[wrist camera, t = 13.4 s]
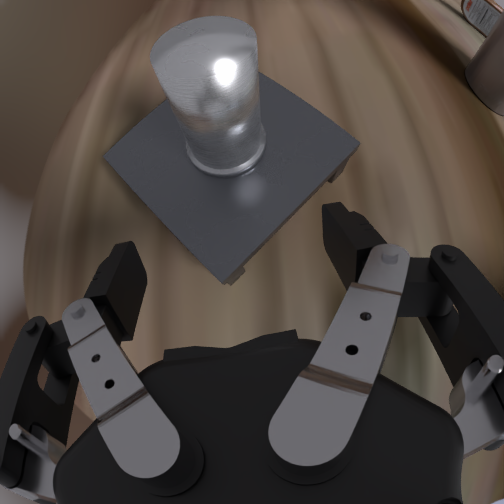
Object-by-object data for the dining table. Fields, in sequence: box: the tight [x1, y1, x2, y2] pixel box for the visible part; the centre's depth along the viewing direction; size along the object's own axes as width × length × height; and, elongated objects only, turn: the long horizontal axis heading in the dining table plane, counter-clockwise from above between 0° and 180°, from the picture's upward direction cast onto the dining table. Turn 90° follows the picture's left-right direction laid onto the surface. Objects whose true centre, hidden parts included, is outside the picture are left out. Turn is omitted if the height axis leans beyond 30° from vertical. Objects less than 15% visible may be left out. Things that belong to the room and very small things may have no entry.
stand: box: [103, 72, 360, 285], centre depth 23 cm, size 14×14×5 cm
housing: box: [150, 16, 266, 178], centre depth 16 cm, size 6×6×10 cm
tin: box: [461, 0, 504, 37], centre depth 26 cm, size 15×3×8 cm, turn 41°
